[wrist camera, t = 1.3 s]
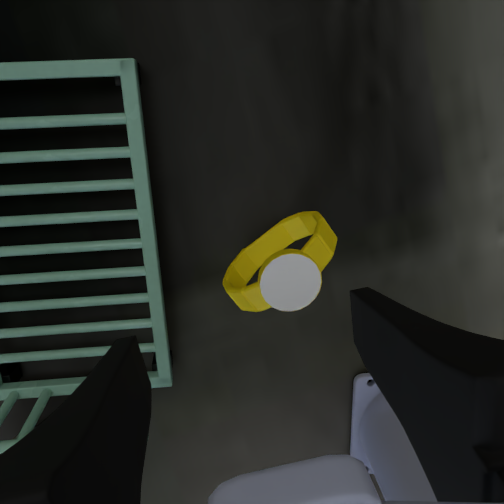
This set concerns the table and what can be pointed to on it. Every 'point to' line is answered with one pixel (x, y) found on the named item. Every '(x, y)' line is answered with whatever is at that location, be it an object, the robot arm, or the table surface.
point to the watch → (282, 265)
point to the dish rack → (9, 372)
